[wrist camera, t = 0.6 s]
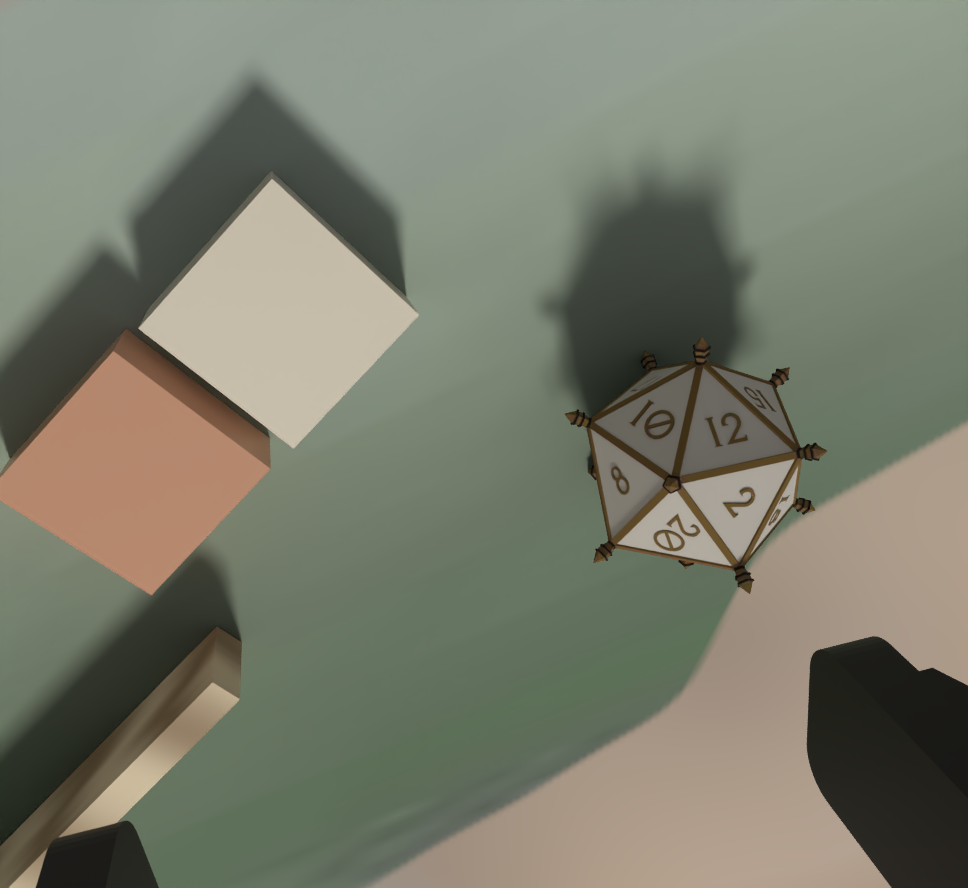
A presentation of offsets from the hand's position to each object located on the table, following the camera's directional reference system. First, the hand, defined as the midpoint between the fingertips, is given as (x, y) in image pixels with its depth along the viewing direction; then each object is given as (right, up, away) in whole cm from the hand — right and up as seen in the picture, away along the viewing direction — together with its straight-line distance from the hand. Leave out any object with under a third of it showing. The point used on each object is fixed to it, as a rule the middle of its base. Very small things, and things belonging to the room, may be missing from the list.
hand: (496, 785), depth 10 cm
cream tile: (-7, +9, +20) cm, 23 cm away
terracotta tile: (-12, +4, +20) cm, 24 cm away
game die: (+6, +5, +25) cm, 26 cm away
